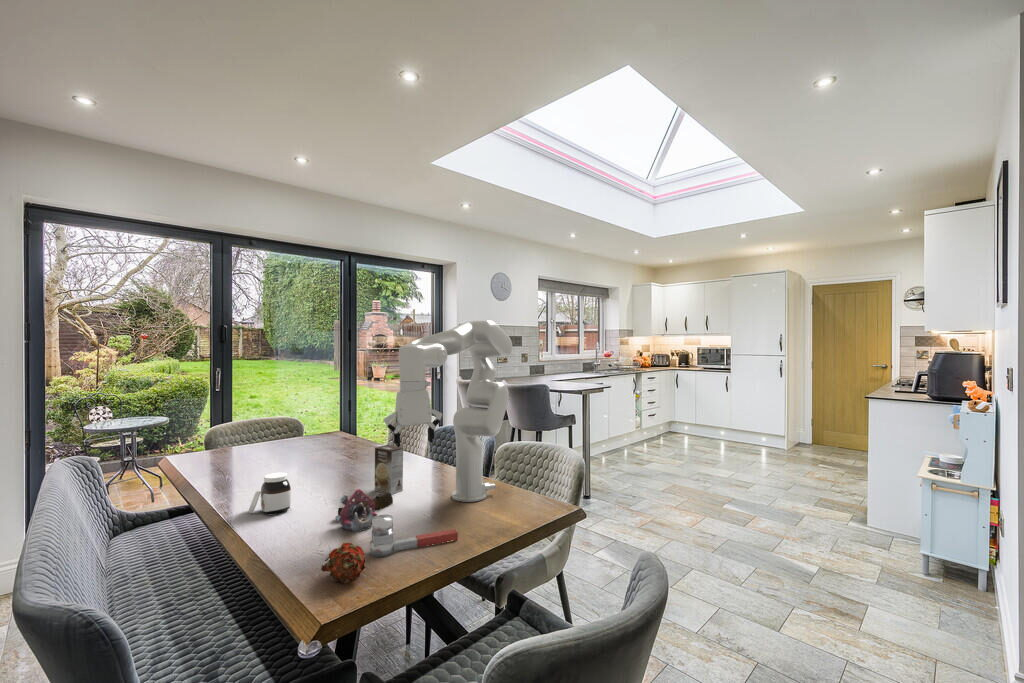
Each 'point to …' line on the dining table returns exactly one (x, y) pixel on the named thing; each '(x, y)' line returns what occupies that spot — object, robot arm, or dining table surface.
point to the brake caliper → (356, 512)
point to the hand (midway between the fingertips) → (414, 443)
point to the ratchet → (413, 542)
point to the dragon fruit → (345, 563)
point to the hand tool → (378, 501)
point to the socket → (382, 530)
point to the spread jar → (273, 494)
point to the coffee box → (388, 469)
